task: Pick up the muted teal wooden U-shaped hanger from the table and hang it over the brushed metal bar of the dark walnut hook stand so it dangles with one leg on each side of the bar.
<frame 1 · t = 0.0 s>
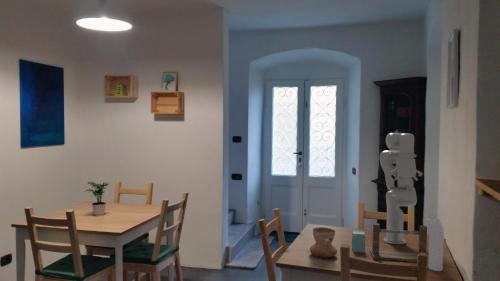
hand: (405, 187, 220), 37 cm above the table, tool pointing down, fingers open, 9 cm apart
saddle hanger: (358, 250, 227), on the table
water bottle: (432, 269, 198), on the table
ceramic jug: (323, 255, 217), on the table
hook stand: (398, 257, 215), on the table
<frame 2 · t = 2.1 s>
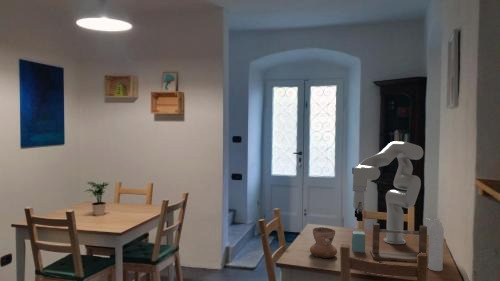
hand: (358, 219, 226), 18 cm above the table, tool pointing down, fingers open, 9 cm apart
nothing on the table moved.
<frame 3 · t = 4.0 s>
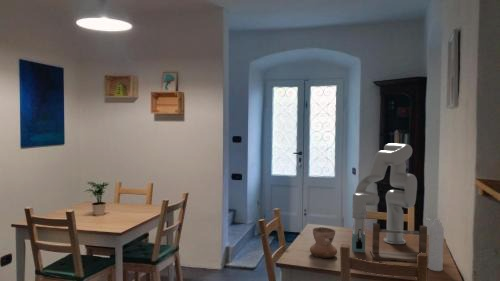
hand: (358, 246, 227), 2 cm above the table, tool pointing down, fingers closed on saddle hanger, 6 cm apart
saddle hanger: (358, 250, 227), on the table, touching gripper
everything else where it was.
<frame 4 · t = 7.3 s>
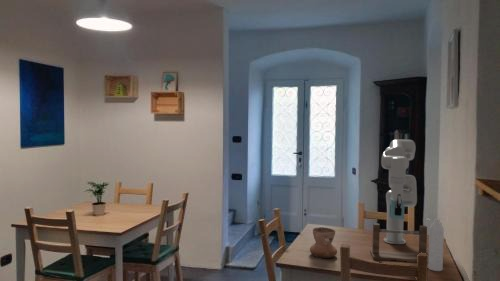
hand: (396, 213, 215), 23 cm above the table, tool pointing down, fingers closed on saddle hanger, 6 cm apart
saddle hanger: (396, 217, 215), point 21 cm above the table, touching gripper
everything else where it was.
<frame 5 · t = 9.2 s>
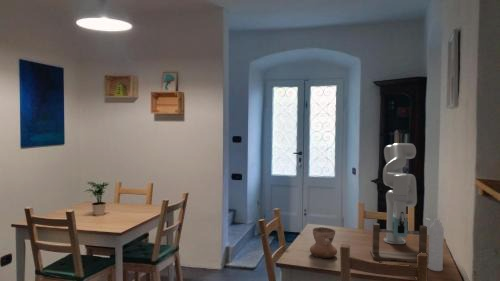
hand: (399, 231, 214), 14 cm above the table, tool pointing down, fingers closed on saddle hanger, 6 cm apart
saddle hanger: (399, 235, 214), point 12 cm above the table, touching gripper
everything else where it was.
when the fingers open (11 cm above the table, at t = 10.7 s): saddle hanger drops 1 cm, resting on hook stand.
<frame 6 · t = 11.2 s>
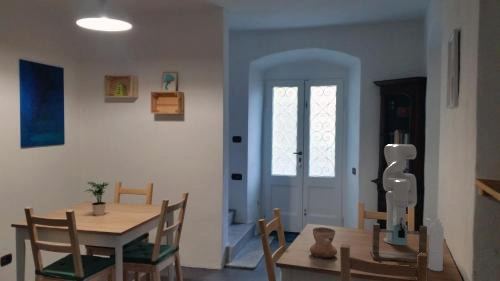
hand: (399, 235, 215), 12 cm above the table, tool pointing down, fingers open, 9 cm apart
saddle hanger: (399, 243, 215), point 8 cm above the table, touching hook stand
everything else where it was.
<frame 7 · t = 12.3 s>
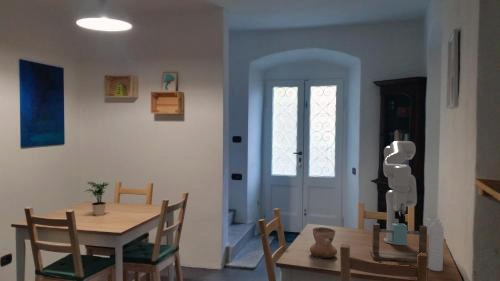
hand: (399, 221, 215), 20 cm above the table, tool pointing down, fingers open, 9 cm apart
nothing on the table moved.
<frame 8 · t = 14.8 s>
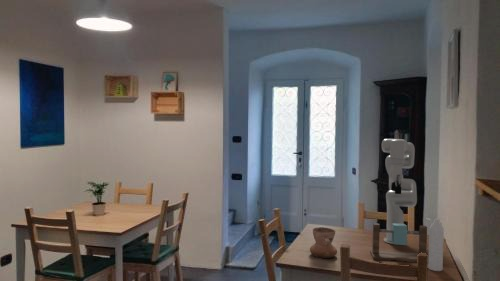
hand: (396, 192, 225), 33 cm above the table, tool pointing down, fingers open, 9 cm apart
nothing on the table moved.
at the end: saddle hanger inside the target area on the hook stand (0.1 cm from its centre), point 7.7 cm above the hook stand's base; saddle hanger tilted 1°; the gripper is holding nothing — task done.
